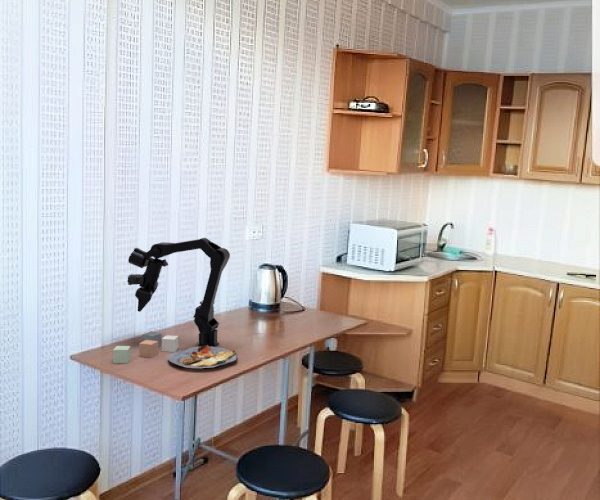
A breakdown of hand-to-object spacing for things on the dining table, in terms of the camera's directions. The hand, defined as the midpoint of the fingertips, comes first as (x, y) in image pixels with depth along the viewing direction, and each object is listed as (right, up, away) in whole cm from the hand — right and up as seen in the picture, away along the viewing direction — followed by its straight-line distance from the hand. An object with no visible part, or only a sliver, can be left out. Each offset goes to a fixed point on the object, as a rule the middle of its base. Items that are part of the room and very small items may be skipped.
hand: (141, 307), depth 251 cm
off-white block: (+14, -15, -11) cm, 24 cm away
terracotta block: (+8, -16, -19) cm, 26 cm away
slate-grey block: (+6, -14, -7) cm, 17 cm away
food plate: (+29, -18, -24) cm, 41 cm away
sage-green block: (0, -17, -27) cm, 31 cm away
